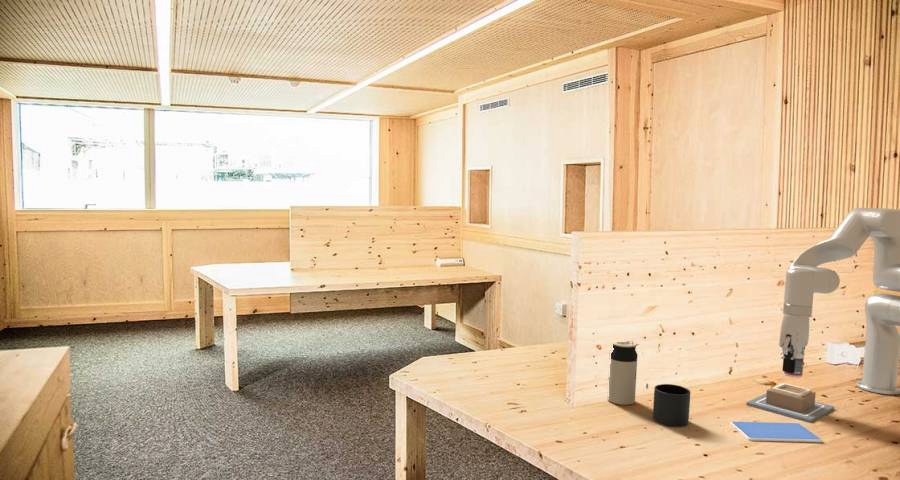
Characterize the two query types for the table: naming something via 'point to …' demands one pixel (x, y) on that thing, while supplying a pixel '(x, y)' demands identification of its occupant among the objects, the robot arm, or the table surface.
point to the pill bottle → (796, 364)
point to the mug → (671, 405)
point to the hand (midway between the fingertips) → (792, 369)
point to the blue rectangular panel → (775, 432)
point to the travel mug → (623, 373)
